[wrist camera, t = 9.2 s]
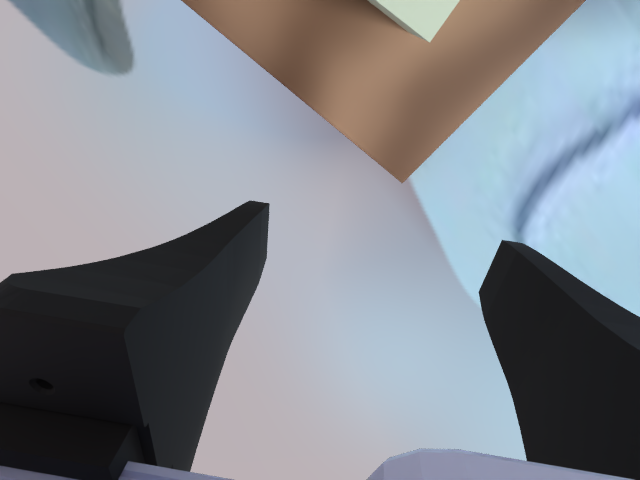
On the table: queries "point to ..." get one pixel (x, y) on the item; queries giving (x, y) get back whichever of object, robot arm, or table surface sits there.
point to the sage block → (417, 14)
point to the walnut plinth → (388, 63)
